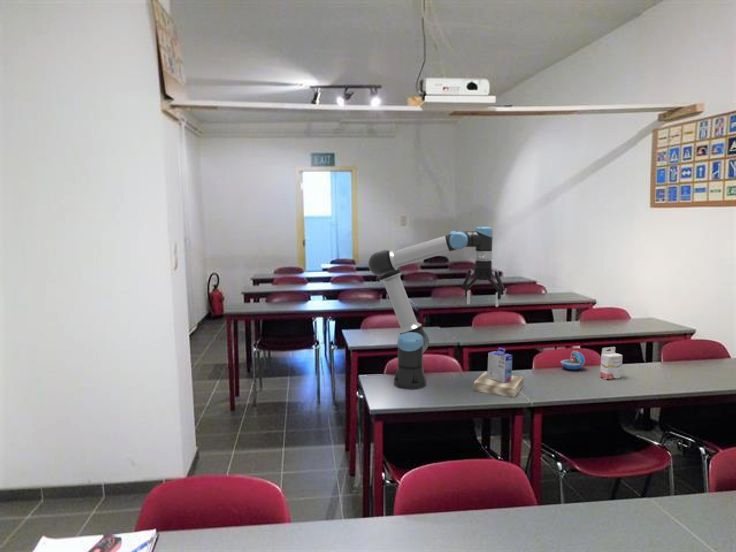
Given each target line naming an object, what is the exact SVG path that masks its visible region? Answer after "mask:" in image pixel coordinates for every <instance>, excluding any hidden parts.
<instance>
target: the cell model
mask: <svg viewBox="0 0 736 552" xmlns="http://www.w3.org/2000/svg"><path fill="white" fill-rule="evenodd" d="M569 358H570V359H569ZM569 358H568V359H562V360H560V363H561V365H562V366H563V367H564V368H565V369H566V370H567V369H568V370H571V371H576V370H579V369H581V368H583V366H584V365H585V363H586V358H585V355H584V354H583V353H582V352H580V351H578V350H573V351H572V352H571V354H570V357H569Z"/></svg>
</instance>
